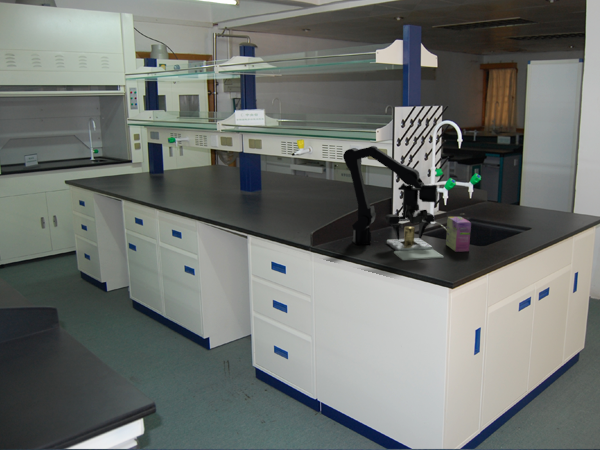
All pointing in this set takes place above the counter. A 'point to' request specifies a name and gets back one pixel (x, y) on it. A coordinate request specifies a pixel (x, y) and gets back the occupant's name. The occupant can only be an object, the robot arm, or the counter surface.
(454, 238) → the box
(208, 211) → the counter surface
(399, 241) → the white marble square slab
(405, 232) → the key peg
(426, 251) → the mat
